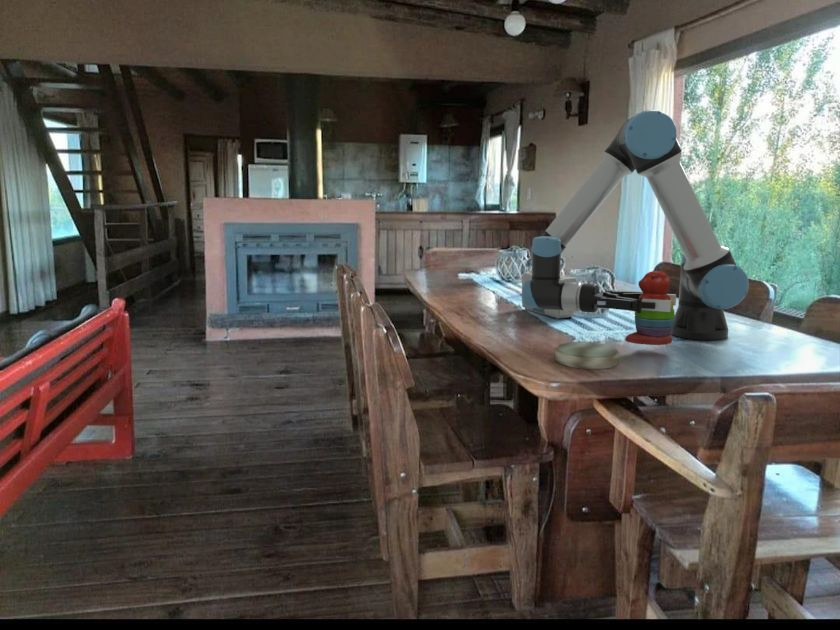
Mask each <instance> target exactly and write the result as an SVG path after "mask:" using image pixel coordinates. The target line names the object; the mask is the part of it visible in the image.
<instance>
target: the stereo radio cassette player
mask: <svg viewBox="0 0 840 630" xmlns="http://www.w3.org/2000/svg"><path fill="white" fill-rule="evenodd" d="M573 258H574V256H573V255H572V256H571V257H569V258H568V259H566V260H564V261H562V262H561V264H560V267H561V266H562V265H563V264H565V263H566V262H568V261H570V260H571V259H573ZM530 280H532V271H526V272H523V273H522V277H521V293H522V292H523V286H524V284H525V282H526V281H530ZM560 282H573V283H578V279H577V278H576V277H575V276H574V277H572V276H568V275H564V274H563V275H562V274H560ZM521 306H522V307H523V308H524V309H525V310H526V311H532V312H534V313H538V314H541V315H545V316H548V317H551V318H554V319H556V320H559V319H565V318H566V319H567V318H569V317H571V318H572V317H573V316H574V315H575V313H574V312H575V311H572V313H569V312H568V311H569V310H550V309H538V308H530V307H527V306H525V305H524V303H523V299H522V298H521Z"/></svg>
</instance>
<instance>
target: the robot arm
mask: <svg viewBox="0 0 840 630" xmlns="http://www.w3.org/2000/svg"><path fill="white" fill-rule="evenodd" d="M677 136H678V133H677V126H676V123H675V122H674V120H673V119H672V118H671V117H670V116H669V115H668V114H667V113H665V112H663V111H660V110H654V109H652V110H651V109H649V110H648V109H647V110H643V111H641V112H638V113H636V114H635V115H633V116H631V118H629V119H627V120H626V121H625V122H624V123H623V124H622V125H621V127H620V128H619V130H618V131H617V133H616V134H615V137H614V138H613V140H611V142H610V144H608V147H607V148H606V149H605V150H604V151H603V153H602V155H603V158H602V160H601V161H600V162H599V164H598V165H597V166H596V167H595V168H594V170H593V171H592V173H590V174H589V176H588V177H587V179H586V180H585V181H584V182H583V184H581V186H580V187H579V188H578V190H577V191H576V192H575V193H574V195H573V196H572V197H571V198H570V200H569V201H568V202H567V204H566V205H565V206H564V207H563V208H562V209H561V210H560V212H559V213H558V215H557V216H556V217H555V218H554V219H553V221H552V222H551V223H550V224H549V225H548V227H547V228H546V229H545V230H544V232H543V233H542V235H540V236H535V237H534V238H532V242H531V243H532V245H531V247H530V250H529V255H530V259H531V272H532V280H530V281H526V282H525V284H524V286H523V292H522V291H521V300H522V299H523V303H524V305H525V306H527V307H530V308H538V309H550V310H569V311H568V312H569V313H572V311H574V312H579V311H581V313H592V314H593V313H596V312H597V310H598V309H611V310H621V311H629V312H635V311H637V313H641V308H642V310H648V311H662V312H670V309H671V300H672V301H673V307H675V306H676V304H677V303H676V302H677V294H675V293H674V294H672V293H666V294H667V295H669V296H670V298H671V300H656V299H642V302H641V300H640V298H639V296H640V295H641V294H643V292H642V291H631V290H629V291H627V290H624V291H623V290H622V291H621V290H612V289H610V290H609V289H608V290H607V289H606V290H605V291H603V292H600V288H599V285H598V284H597V283H590V282H589V283H588V282H587V283H586V282H585V283H583V284H582V283H581V282H576V283H573V282H560V275H561V266H560V264H561V263H562V262H561V260H562V259H561V257H562V255H561V254H562V253H563V252H564V251H565V250H566V248H567V247H568V246H569V245H570V243H571V242H572V241H573V239H574V238H575V237H576V236H577V235H578V234H579V232H580V231H581V230H582V228H584V226H585V225H586V224H587V222H589V220H590V219H591V218H592V216H593V215H594V214H595V213H596V212H597V210H598V209H599V208H600V207H601V206H602V204H603V203H604V202H605V201H606V200H607V198H608V197H609V196H610V195H611V193H613V191H615V189H616V187H617V186H618V185H619V184H620V183H621V181H623V179H624V178H625V176H630V175H632V174H633V173H634V172H635V171H636V173H637V175H639V176H642V177H645V178H646V179H647V181H648V183H649V185H650V186H651V190H652V191H653V193H654V196H655V197H656V199H657V202H658V205H659V206H660V208H661V210H662V212H663V214H664V216H665V219H666V220H667V223H668V224H669V226H670V230H671V231H672V233H673V235H674V237H675V239H676V241H677V243H678V245H679V248H680V250H681V251H682V254H683V256H682V258H681V262H680V273H679V274H680V276H679V288H678V289H679V290H678V291H679V293H678V304H677V305H678V306H677V309H676V311H675V312H674V315H675V317H674V323H673V326H672V330H671V333H670V334H671V336H672V335H673V336H675V337H678V338H683V339H688V340H698V341H699V340H700V341H718V340H724V339H728V336H729V326H728V323H727V320H726V319H727V318H726V316H725V311H724V310H727V309H731V308H733V307H735V306H737V305H739V304H740V303H741V302H742V301H743V300H744V299H745V298H746V296H747V294H748V291H749V287H750V282H749V278H748V275H747V273H746V272H745V271H744V269H742V268H741V267H740V266H739V265H737V262H736V261H735V258H734V256H733V255H732V253H731V250H730V248H729V247H726V246H723V245H721V244H720V243H719V240H718V238H717V236H716V234H715V233H714V230H713V228H712V226H711V224H710V222H709V220H708V218H707V215H706V213H705V211H704V209H703V207H702V205H701V203H700V200H699V198H698V197H697V194H696V193H695V190H694V188H693V187H692V184H691V181H690V180H689V178H688V175H687V174H686V172H685V169H684V167H683V165H682V163H681V158H682V155H683V150H682V147H681V146H680V143H679V140H678V139H677Z"/></svg>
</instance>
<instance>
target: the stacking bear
mask: <svg viewBox="0 0 840 630" xmlns="http://www.w3.org/2000/svg"><path fill="white" fill-rule="evenodd" d="M637 285H638V288H639V289H640V292H643V294H641V295H640V296H639V298H640V300H641V302H642V299H656V300H671V298H670V296H669V295H667V294H668V292H669V290H670V286H671V280H670V277H669V276H668V274H666V273H665V272H664V270H661V269H660V270H659V271H658V270H654V271H653V270H651V271H649V272H647V273H645V274H644V276H643V277H642V278H641V279H640V280H639V281H638V284H637ZM674 307H675V306H674V305H673V301H672V300H671V309H670V312H662V311H648V310H642V308H641V313H637V311H634V323H635V329H636V331H635V332H634V331H633V332H632V333H629V334H627V335H626V336H625V341H626V343H631V344H637V345H647V346H664V345H669V344H672V342H673V337H672V334H671V330H672V326H673V323H674V317H675V309H674Z"/></svg>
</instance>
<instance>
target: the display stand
mask: <svg viewBox="0 0 840 630" xmlns="http://www.w3.org/2000/svg"><path fill="white" fill-rule="evenodd" d="M554 350H555V354H554V359H555V362H556V363H558V364H560V365H561V366H562V365H563V366H565V367H570V368H576V369H583V370H603V369H611V368H615V367H617V366H618V365H619V364H620V351H619V349H618V348H616V347H614V346H612V345H609V344H605V343H600V342H591V341H574V342H573V341H570V342H564V343H560V344H559V345H558V346H556V347H555V348H554Z"/></svg>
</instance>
